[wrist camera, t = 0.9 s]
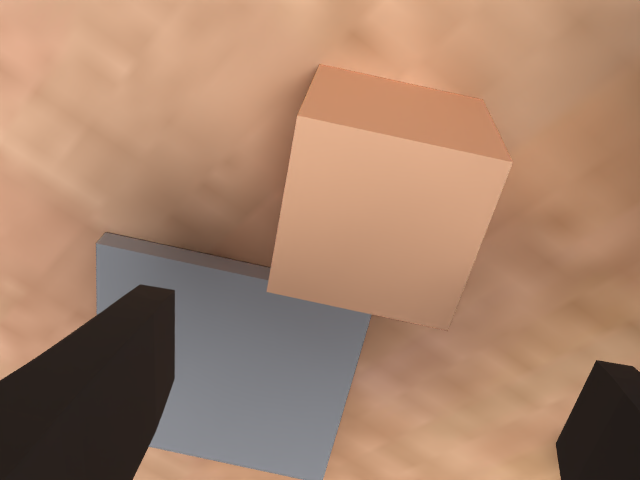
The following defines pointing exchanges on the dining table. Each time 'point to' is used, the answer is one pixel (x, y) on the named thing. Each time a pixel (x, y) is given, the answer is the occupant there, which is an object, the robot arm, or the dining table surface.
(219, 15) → the dining table surface
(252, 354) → the plate
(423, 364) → the dining table surface
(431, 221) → the terracotta cube
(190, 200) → the dining table surface
